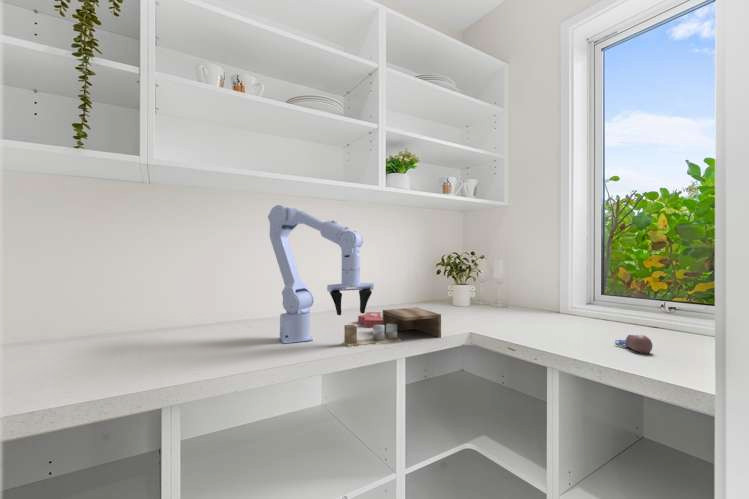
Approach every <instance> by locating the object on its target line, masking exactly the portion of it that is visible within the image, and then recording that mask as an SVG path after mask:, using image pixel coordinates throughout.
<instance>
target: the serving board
mask: <svg viewBox="0 0 749 499" xmlns="http://www.w3.org/2000/svg"><path fill="white" fill-rule="evenodd" d="M343 329H344V340H343V344H345V346H346V345H347V346H346V347H348V348H352V346H354V347H360V346H359V345H363V346H368V345H367V344H372V345H377V344H376V343H381V344H387V343H386V342H390V343H396V342H395V341H399V342H401V339H400V338H399V337H398V331H397V324H386V332H384V325H374V326H373V328H372V331H373V332H372V337H371V338H370V337H369V338H362V339H358V337H357V336H358V331H357V330H358V327H357V325H355V324H345V325H344V328H343Z"/></svg>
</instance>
